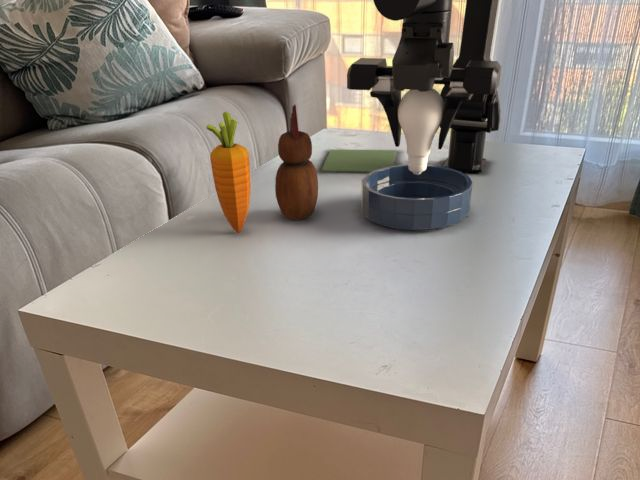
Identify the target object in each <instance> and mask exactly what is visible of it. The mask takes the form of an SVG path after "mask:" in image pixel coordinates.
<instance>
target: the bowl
mask: <svg viewBox="0 0 640 480" xmlns="http://www.w3.org/2000/svg"><path fill="white" fill-rule="evenodd" d="M472 191H473V181H472V179H471V177H470V176H469V175H467V174H466V173H464V172H463V171H457V170H454V169H451V168H447V167H443V166H441V165H434V164H433V165H432V164H427V168H426V170H425V171H423V172H421V174H418V175H416V174H413V172H411V171H410V170H409V169H408V164H396V165H394V166H389V167H385V168H381V169H378V170H374V171H372V172H370V173H368V172H367V174H365V175H364V176H363V178H362V179H361V200H360V201H361V203H360V205H361V207H360V208H361V214H362V215H363V216H364V217H365V218H366V219H367V220H369V221H371V222H373V223H375V224H378V225H380V226H384V227H389V228H393V229H402V230H433V229H440V228H445V227H451V226H452V225H455V224H459V223H460V222H461V221H463V220H464V219H466V218H467V217H468V215H469V213H470V207H471V200H472Z"/></svg>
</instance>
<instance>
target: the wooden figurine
mask: <svg viewBox="0 0 640 480" xmlns="http://www.w3.org/2000/svg"><path fill="white" fill-rule="evenodd" d="M291 109H292V112H291V114H290V115H291V116H290V120H289V121H290V123H289V124H290V125H289V131H286V132H283V133H282V134H281V135H280V136H279V138H278V143H277V152H278V153H277V154H278V156H279V158H280V160H281V161H282V162H281V163H280V164H279V167H278V169H277V170H276V173H275V186H274V190H275V199H276V202H277V205H278V208H279V210H280V212H281V214H282V215H283V216H284V217H285V218H287V219H288V220H296V221H299V220H304V219H308V218H309V217H311V216H312V215H313V214H314V212H315V210H316V206H317V203H318V198H319V195H318V194H319V177H318V176H319V175H318V172H317V167H316V166H315V164H314V163H313V162H312V160H310V159H311V158H312V155H313V144H312V140H311V139H312V138H311V136H310V135H309V134H308V132H305V131H301V130H299V122H298V113H297V105H296V104H294V105H292V107H291Z"/></svg>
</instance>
